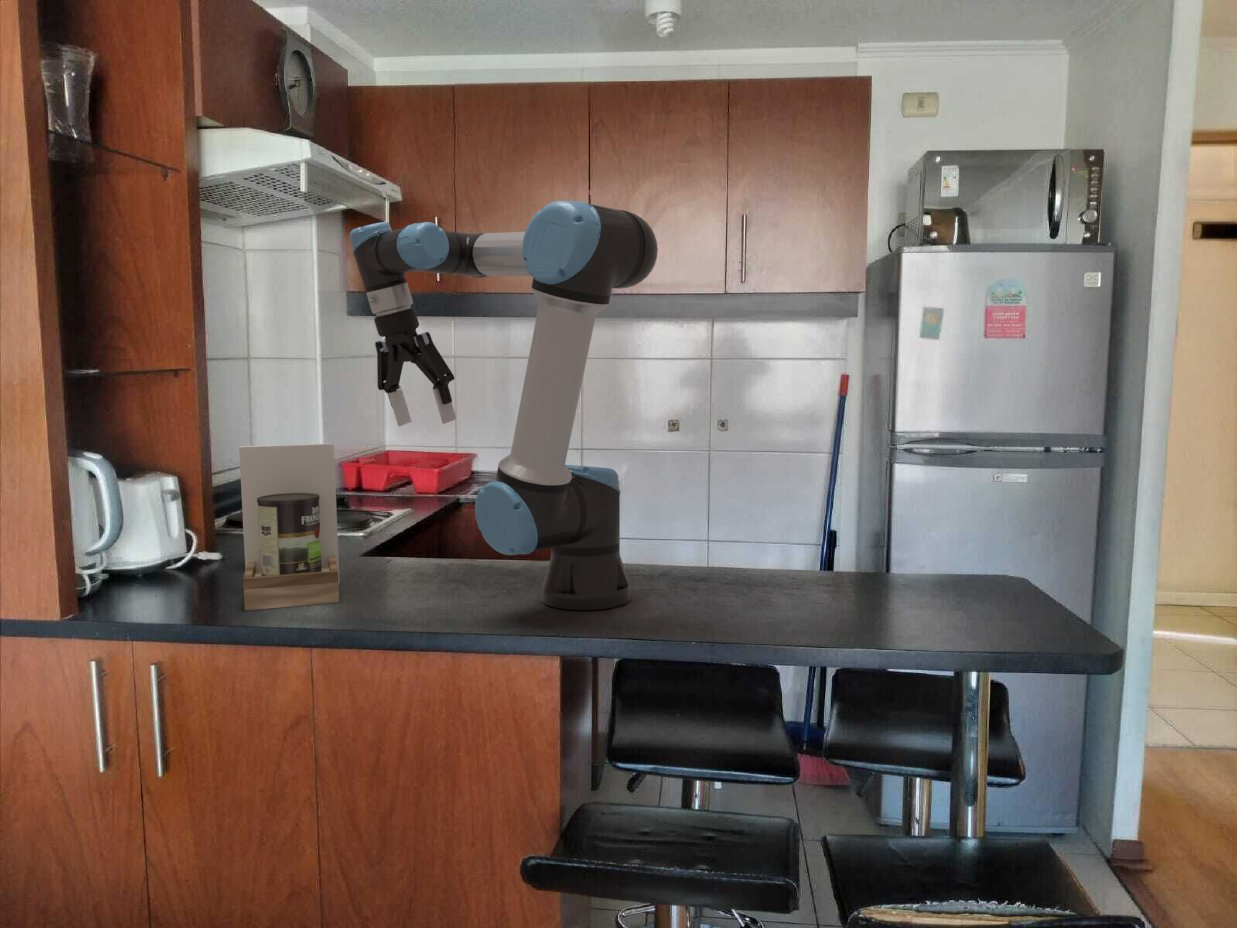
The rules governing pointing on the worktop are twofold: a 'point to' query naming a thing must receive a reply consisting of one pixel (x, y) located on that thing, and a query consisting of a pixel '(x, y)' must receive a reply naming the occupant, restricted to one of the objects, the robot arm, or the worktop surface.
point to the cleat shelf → (290, 588)
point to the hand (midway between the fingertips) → (426, 422)
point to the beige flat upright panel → (288, 489)
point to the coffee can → (289, 533)
